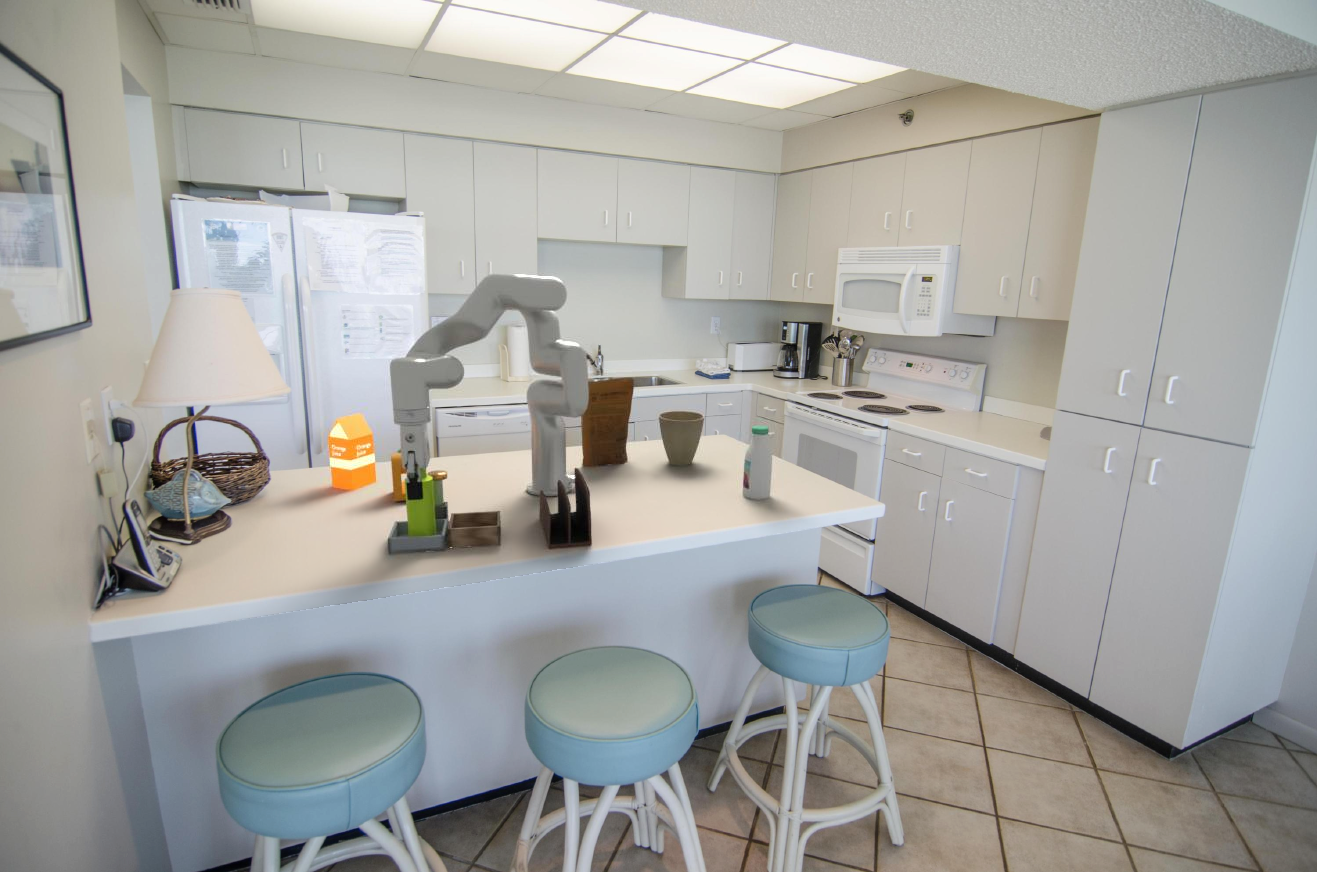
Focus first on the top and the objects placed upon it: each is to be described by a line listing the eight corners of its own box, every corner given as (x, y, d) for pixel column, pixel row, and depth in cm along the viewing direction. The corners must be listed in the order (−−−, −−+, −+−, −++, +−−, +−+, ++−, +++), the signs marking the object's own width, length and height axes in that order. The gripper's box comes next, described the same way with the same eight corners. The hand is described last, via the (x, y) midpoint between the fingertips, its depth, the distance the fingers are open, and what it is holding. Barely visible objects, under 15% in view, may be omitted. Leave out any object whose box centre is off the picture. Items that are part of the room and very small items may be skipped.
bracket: (423, 501, 179) (420, 458, 176) (394, 504, 177) (391, 460, 174) (421, 489, 189) (418, 448, 186) (393, 491, 186) (390, 450, 183)
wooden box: (500, 528, 162) (500, 510, 161) (500, 545, 152) (500, 526, 151) (452, 531, 159) (451, 513, 158) (449, 548, 150) (448, 529, 149)
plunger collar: (451, 523, 164) (450, 500, 162) (450, 531, 159) (449, 507, 158) (430, 525, 163) (429, 501, 161) (428, 532, 158) (426, 508, 157)
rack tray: (448, 532, 158) (447, 518, 158) (445, 550, 148) (444, 535, 147) (396, 535, 156) (395, 521, 155) (388, 554, 146) (387, 539, 145)
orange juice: (331, 486, 189) (325, 417, 184) (356, 478, 197) (350, 411, 192) (353, 490, 186) (347, 420, 181) (377, 482, 194) (371, 414, 189)
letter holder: (578, 516, 172) (578, 463, 168) (592, 546, 153) (592, 487, 150) (539, 519, 169) (538, 465, 166) (548, 550, 150) (547, 490, 147)
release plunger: (450, 519, 163) (447, 470, 160) (448, 526, 159) (446, 475, 156) (431, 520, 162) (428, 470, 159) (429, 527, 158) (426, 476, 155)
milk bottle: (773, 494, 192) (777, 426, 187) (765, 502, 185) (770, 431, 181) (747, 490, 195) (751, 422, 190) (738, 497, 188) (742, 428, 184)
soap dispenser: (408, 529, 154) (401, 444, 149) (438, 528, 155) (433, 444, 150) (400, 539, 149) (393, 451, 144) (432, 538, 149) (427, 451, 144)
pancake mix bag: (637, 463, 220) (639, 378, 213) (583, 470, 211) (583, 381, 204) (628, 458, 226) (629, 375, 219) (575, 464, 216) (575, 378, 210)
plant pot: (660, 455, 230) (661, 409, 226) (704, 458, 228) (706, 412, 224) (654, 467, 215) (655, 419, 211) (700, 470, 213) (702, 421, 210)
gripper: (426, 423, 138) (431, 506, 142) (434, 406, 154) (438, 481, 158) (387, 424, 136) (393, 508, 140) (399, 407, 152) (404, 483, 157)
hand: (417, 493), depth 149 cm, fingers closed on soap dispenser, 5 cm apart
